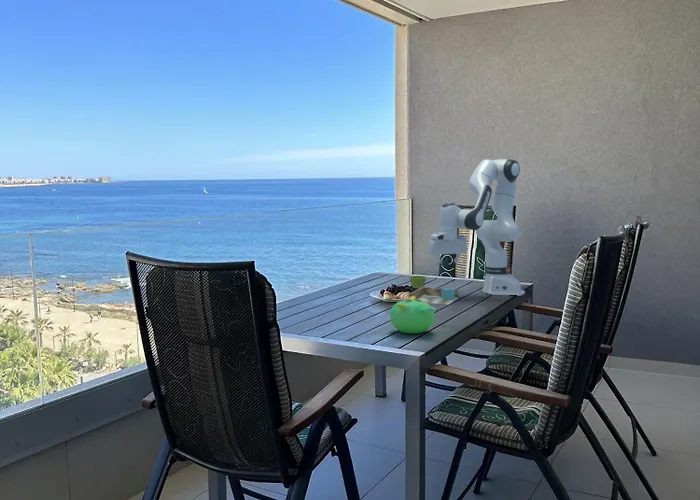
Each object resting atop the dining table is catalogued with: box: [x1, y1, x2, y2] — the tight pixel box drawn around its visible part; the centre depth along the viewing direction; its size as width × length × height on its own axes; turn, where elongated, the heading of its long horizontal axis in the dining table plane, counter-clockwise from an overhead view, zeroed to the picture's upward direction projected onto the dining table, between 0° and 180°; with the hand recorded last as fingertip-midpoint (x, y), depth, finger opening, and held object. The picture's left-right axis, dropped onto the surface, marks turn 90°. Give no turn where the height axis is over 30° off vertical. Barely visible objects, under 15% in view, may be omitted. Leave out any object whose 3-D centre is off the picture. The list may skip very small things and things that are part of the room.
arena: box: [408, 286, 460, 306], centre depth 323 cm, size 20×20×5 cm
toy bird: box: [389, 296, 437, 334], centre depth 258 cm, size 18×17×15 cm
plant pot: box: [409, 275, 427, 289], centre depth 345 cm, size 9×9×9 cm
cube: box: [441, 287, 455, 301], centre depth 323 cm, size 5×5×5 cm
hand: (447, 262), depth 321 cm, fingers open, 8 cm apart
